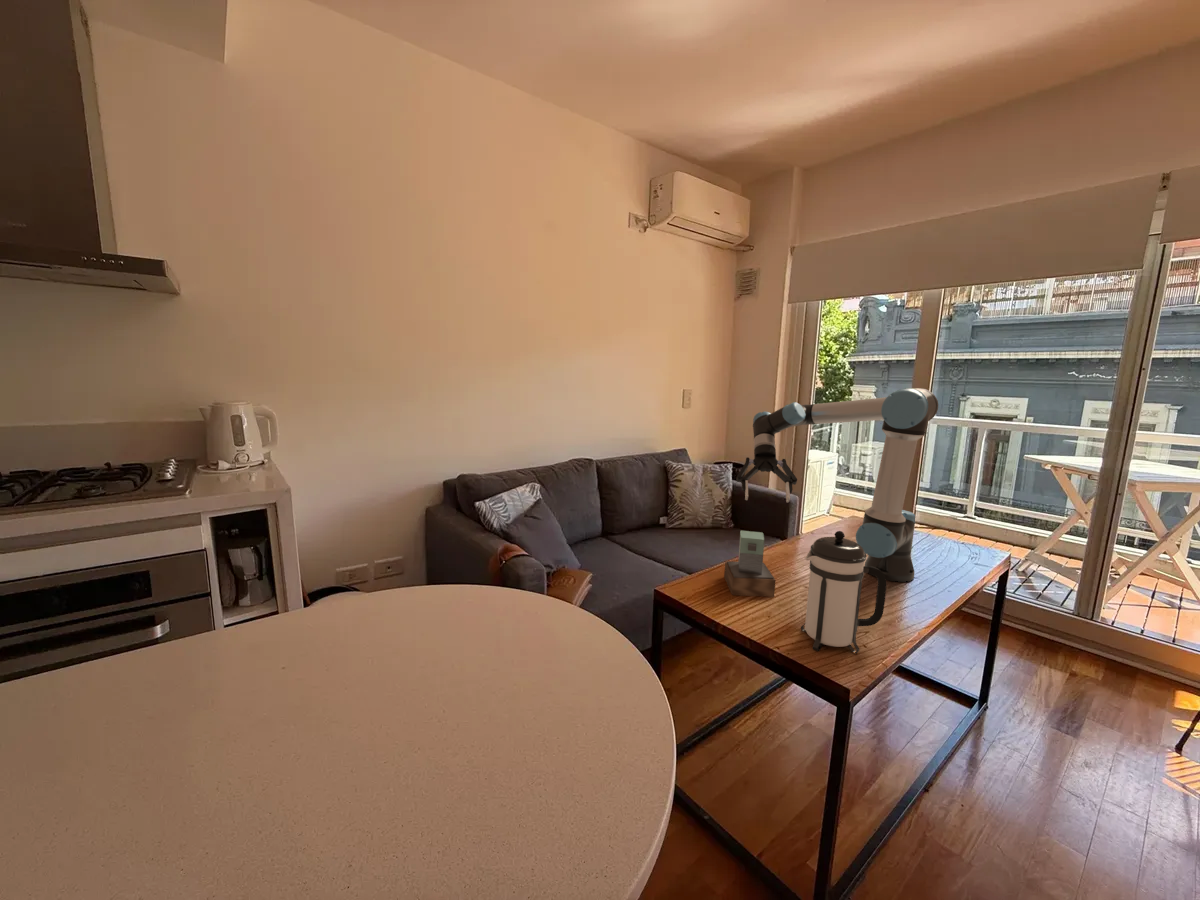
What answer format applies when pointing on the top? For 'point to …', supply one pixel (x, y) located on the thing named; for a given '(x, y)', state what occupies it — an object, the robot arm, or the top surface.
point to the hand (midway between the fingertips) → (767, 499)
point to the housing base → (750, 563)
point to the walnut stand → (749, 581)
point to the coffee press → (838, 592)
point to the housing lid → (751, 542)
